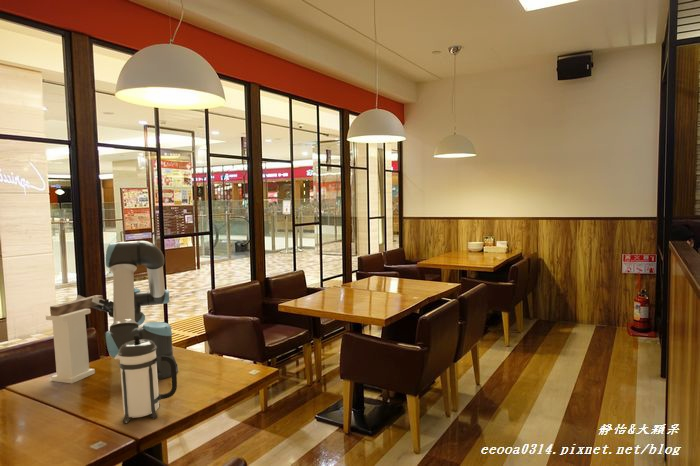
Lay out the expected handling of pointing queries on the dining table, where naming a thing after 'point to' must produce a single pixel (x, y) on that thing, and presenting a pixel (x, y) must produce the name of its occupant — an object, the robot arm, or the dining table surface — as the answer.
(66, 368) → the white pedestal
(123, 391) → the coffee press
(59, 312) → the walnut bar
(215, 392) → the dining table surface
